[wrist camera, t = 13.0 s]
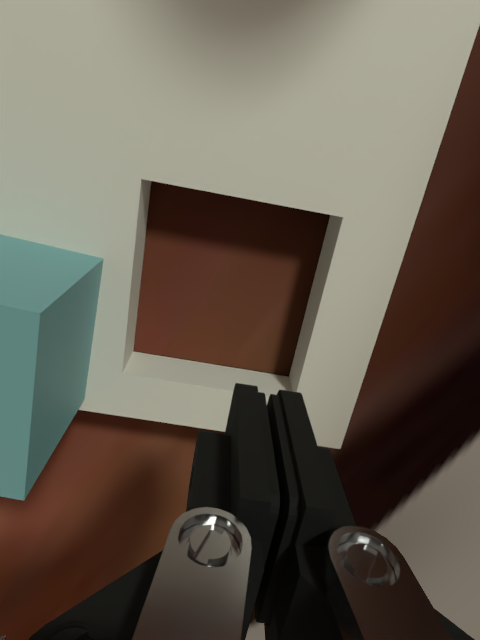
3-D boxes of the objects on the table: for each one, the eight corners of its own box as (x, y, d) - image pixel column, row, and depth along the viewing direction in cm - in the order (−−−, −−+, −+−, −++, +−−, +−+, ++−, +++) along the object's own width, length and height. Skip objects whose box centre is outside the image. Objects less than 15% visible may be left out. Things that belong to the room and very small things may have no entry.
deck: (498, -120, 14) (657, -280, 8) (331, 421, 21) (361, 512, 16) (-389, -346, 12) (-872, -725, 7) (-233, 334, 19) (-406, 405, 14)
